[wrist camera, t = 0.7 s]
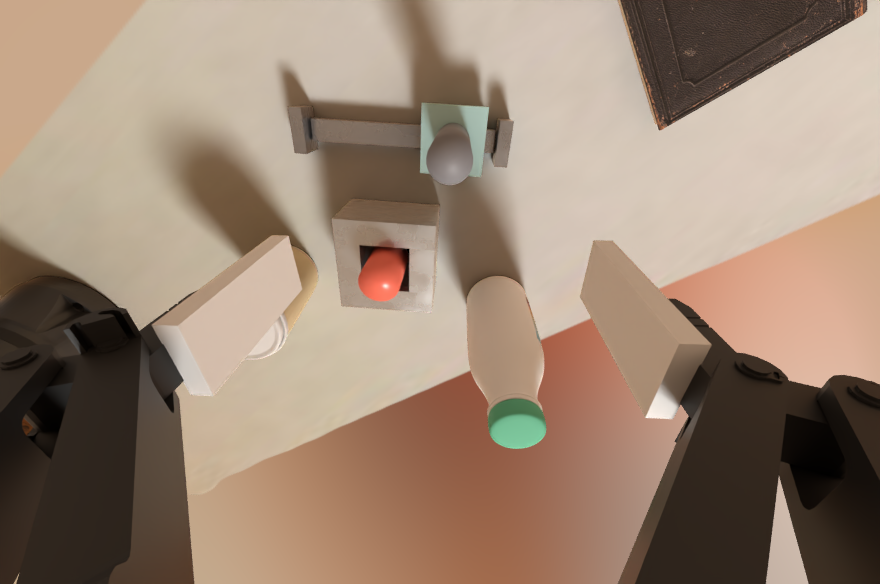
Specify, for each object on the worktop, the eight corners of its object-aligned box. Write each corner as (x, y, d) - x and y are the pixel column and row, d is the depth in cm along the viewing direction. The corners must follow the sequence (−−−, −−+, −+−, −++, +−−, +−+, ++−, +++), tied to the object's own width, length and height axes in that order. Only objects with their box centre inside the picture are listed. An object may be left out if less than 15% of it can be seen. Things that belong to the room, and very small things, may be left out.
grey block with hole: (358, 276, 43) (341, 306, 37) (351, 198, 38) (331, 218, 32) (435, 282, 43) (431, 313, 37) (440, 204, 38) (435, 226, 32)
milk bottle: (454, 304, 45) (450, 438, 28) (491, 262, 41) (513, 384, 24) (499, 332, 47) (522, 473, 30) (538, 294, 43) (589, 428, 26)
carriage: (423, 166, 36) (405, 201, 24) (424, 101, 33) (405, 108, 21) (479, 170, 36) (488, 207, 24) (486, 105, 32) (500, 114, 21)
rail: (306, 148, 36) (294, 153, 33) (300, 105, 33) (287, 106, 31) (503, 161, 35) (506, 167, 33) (509, 119, 33) (513, 121, 31)
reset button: (373, 271, 38) (359, 299, 33) (371, 238, 36) (356, 263, 31) (408, 274, 38) (400, 302, 33) (408, 241, 36) (399, 266, 31)
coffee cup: (260, 223, 40) (191, 269, 30) (334, 257, 42) (293, 311, 32) (246, 283, 45) (182, 340, 34) (313, 311, 47) (272, 374, 36)
